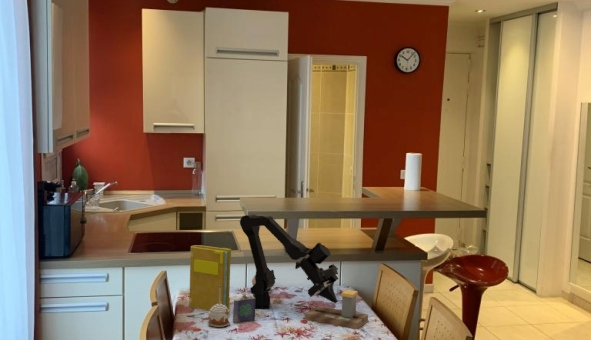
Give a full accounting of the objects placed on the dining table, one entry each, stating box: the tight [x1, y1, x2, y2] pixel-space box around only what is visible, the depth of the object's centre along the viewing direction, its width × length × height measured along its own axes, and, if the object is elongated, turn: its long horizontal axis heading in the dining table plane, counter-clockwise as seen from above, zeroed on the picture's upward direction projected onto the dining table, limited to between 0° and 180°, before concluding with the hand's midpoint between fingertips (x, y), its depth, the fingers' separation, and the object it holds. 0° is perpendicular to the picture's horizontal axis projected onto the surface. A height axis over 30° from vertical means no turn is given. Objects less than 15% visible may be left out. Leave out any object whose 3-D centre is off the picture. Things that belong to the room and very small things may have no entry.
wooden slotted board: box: [304, 305, 369, 330], centre depth 229 cm, size 22×12×3 cm, turn 64°
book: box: [188, 244, 232, 312], centre depth 238 cm, size 17×7×25 cm, turn 65°
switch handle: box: [340, 289, 359, 318], centre depth 226 cm, size 5×6×11 cm
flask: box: [232, 293, 256, 324], centre depth 223 cm, size 9×3×11 cm, turn 121°
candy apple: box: [207, 286, 231, 328], centre depth 218 cm, size 8×8×15 cm
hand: (336, 302), depth 229 cm, fingers closed
